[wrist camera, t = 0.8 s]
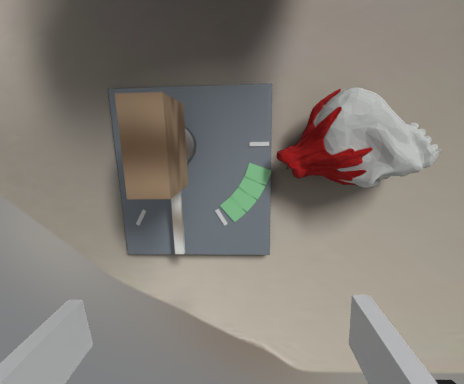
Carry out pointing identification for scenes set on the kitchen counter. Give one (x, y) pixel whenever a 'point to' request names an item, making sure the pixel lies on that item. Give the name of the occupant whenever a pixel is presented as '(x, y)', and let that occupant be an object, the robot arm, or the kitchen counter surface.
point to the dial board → (211, 175)
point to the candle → (358, 141)
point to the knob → (155, 151)
